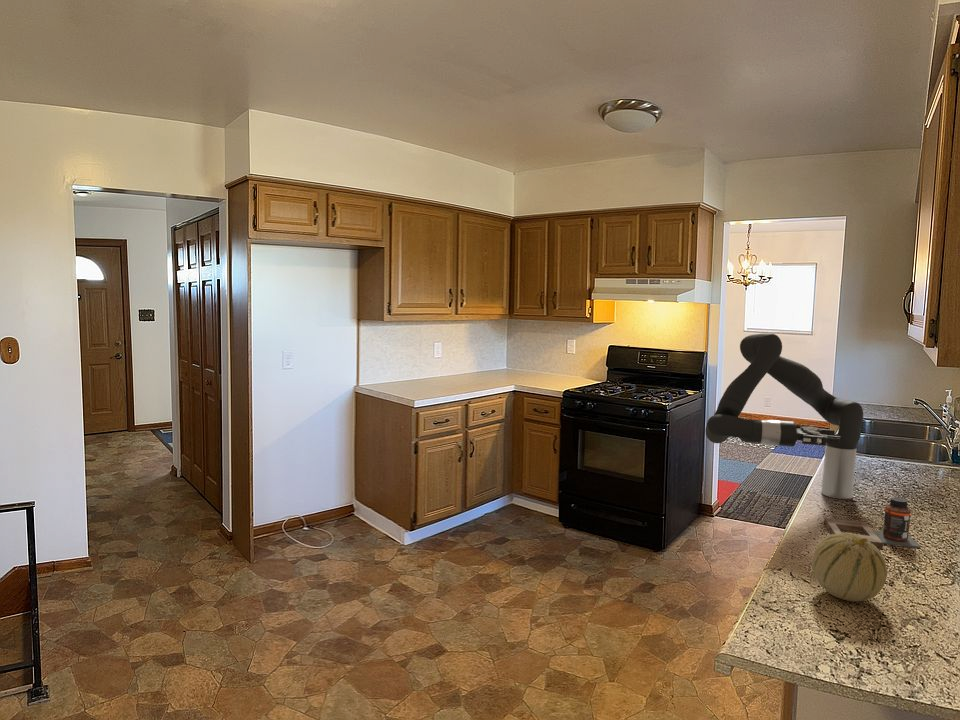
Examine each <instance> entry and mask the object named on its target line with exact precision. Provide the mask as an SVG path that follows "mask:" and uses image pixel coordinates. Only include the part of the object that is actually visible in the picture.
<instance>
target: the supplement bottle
mask: <svg viewBox="0 0 960 720" xmlns="http://www.w3.org/2000/svg"><path fill="white" fill-rule="evenodd" d="M908 502H909V501H908V500H907V499H905V498H902V497H897V496H896V497H895V496H894V497H890V501H889V504H887V505H886V506H885V511H884V519H883V521H884V522H883V530H882V532H883V535H884V536H885V537H886V538H888V539H891V540H895V541H906V540H908V535H909V533H910V532H909V531H910V522H911V515H912V514H911V513H912V511H911V508H910V507H908ZM909 536H910V535H909Z"/></svg>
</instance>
